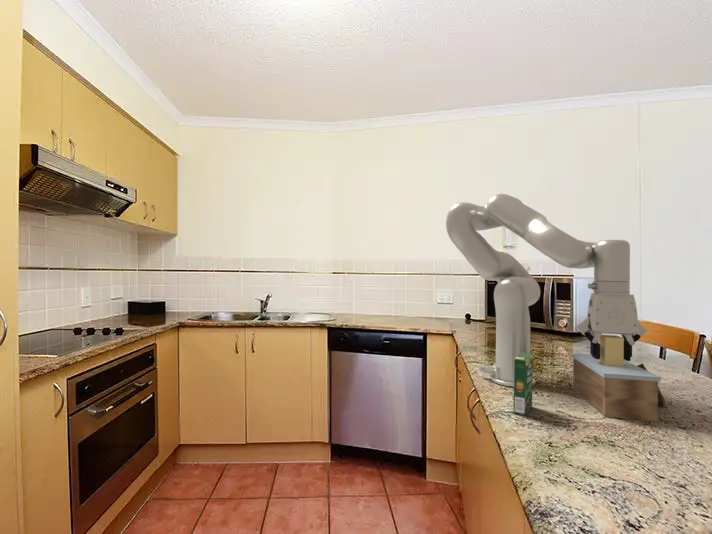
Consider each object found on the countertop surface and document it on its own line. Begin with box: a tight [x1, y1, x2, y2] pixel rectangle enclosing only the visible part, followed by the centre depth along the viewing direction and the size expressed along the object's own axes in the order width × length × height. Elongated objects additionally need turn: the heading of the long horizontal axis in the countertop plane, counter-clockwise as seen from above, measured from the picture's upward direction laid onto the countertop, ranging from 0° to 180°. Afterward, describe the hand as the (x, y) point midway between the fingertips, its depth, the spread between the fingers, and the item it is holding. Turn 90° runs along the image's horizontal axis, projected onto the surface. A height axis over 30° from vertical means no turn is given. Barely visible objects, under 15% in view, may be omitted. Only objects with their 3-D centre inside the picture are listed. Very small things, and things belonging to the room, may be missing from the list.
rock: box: [636, 363, 669, 409], centre depth 98 cm, size 11×9×10 cm
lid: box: [571, 334, 661, 383], centre depth 94 cm, size 11×21×8 cm, turn 167°
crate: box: [572, 357, 659, 422], centre depth 94 cm, size 11×21×9 cm, turn 167°
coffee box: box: [513, 352, 534, 416], centre depth 88 cm, size 8×3×13 cm, turn 144°
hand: (610, 358), depth 94 cm, fingers open, 6 cm apart
